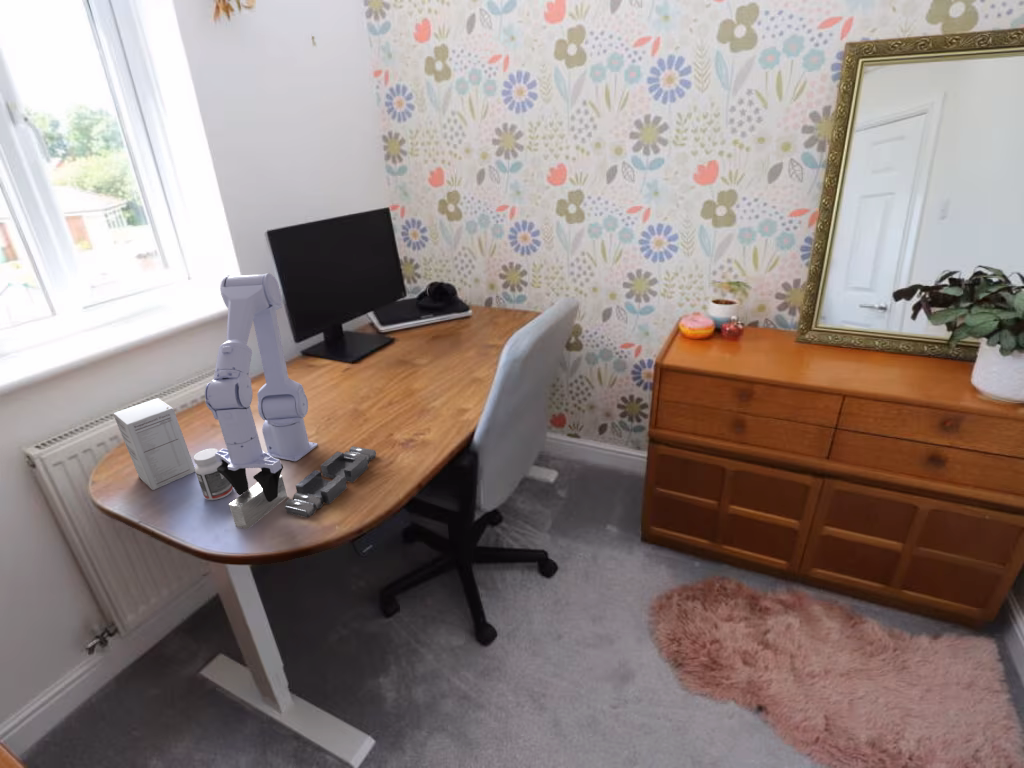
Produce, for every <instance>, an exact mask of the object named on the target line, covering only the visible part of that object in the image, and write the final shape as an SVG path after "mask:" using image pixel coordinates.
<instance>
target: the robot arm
mask: <svg viewBox="0 0 1024 768" xmlns="http://www.w3.org/2000/svg"><path fill="white" fill-rule="evenodd" d="M280 290H281V289H280V285H279V282H278V280H277V279H276V278H275V276H274V275H273V274H272V273H270V272H269V273H268V272H266V273H264V274H263V273H260V274H245V275H243V274H242V275H225V276H223V277H222V279H221V280H220V295H221V297H222V301H223V303H224V305H225V307H226V308H227V321H226V322H227V324H226V325H227V326H226V341H225V342H223V343H222V344H220V345H219V346H218V348H217V349H218V350H217V357H216V360H215V361H216V362H215V368H214V373H213V379H212V380H211V381H210V382H208V383H207V384H206V386H205V389H204V398H205V400H204V402H205V405H206V407H207V408H208V410H209V411H211V413H212V416H213V418H214V419H215V420H217V421H218V424H219V427H220V430H221V433H222V436H223V440H224V443H225V447H226V448H221V449H220V450H218V452H216V453H215V456H216V459H217V462H222V463H221V464H222V465H220V466H219V467H218V468H217V471H218V472H219V473H221V474H222V475H223V476H224V477H225V478H226V479H227V480H228V481H229V482H230V484H231V485H232V486H233V489H234V491H235V492H236V494H237V495H239V496H241V495H242V494H243V493H245V492H246V491H247V490H249V482H248V478H247V477H248V476H247V470H246V469H260V471H259V472H258V473H256V474H254V475H253V479H254V480H255V482H256V483H259V485H260V486H261V488H262V490H263V492H264V495H265V498H266V499H267V501H268V502H271V501H273V500H274V499H275V498H276V497H278V483H279V478H280V475H281V474H282V471H283V470H284V466H283V465H284V464H283V463H282V462H281V460H280V459H282V460H286V461H292V462H297V461H299V460H301V458H303V457H304V456H306V455H307V454H309V453H310V452H311V451H313V449H315V448H316V447H318V446H319V445H318V443H317V442H312V441H309V437H308V434H307V433H308V432H307V428H306V424H305V420H304V418H305V417H306V415H307V414H308V411H309V401H308V397H307V394H306V393H305V390H304V387H303V384H302V383H300V382H297V381H296V380H293V379H291V378H289V373H288V368H287V363H286V359H285V357H286V356H285V354H284V353H285V352H284V349H283V348H284V347H283V344H282V338H281V332H280V328H279V326H280V325H279V320H278V317H277V311H278V310H279V309H282V308H283V305H282V303H283V301H282V297H281V291H280ZM252 325H253V326H254V331H255V335H256V341H257V345H258V349H259V350H258V351H259V356H260V360H261V366H262V370H263V375H264V379H265V383H264V384H263V385H262V386H261V387H260V388H259V390H258V391H257V411H258V414H259V416H260V418H261V419H262V420H263V423H262V430H261V432H262V436H263V439H264V442H265V443H264V444H265V446H266V450H267V452H266V451H264V450H263V449H262V444H261V442H260V437H259V435H258V431H257V427H256V426H257V425H256V423H255V419H254V416H253V412H252V408H251V404H252V402H253V387H252V378H251V377H250V376H249V375H250V371H251V364H252V363H251V362H252V355H253V351H252V348H251V347H249V345H248V341H249V337H250V333H251V330H252Z"/></svg>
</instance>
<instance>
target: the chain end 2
mask: <svg viewBox="0 0 1024 768" xmlns="http://www.w3.org/2000/svg"><path fill="white" fill-rule="evenodd" d="M376 457H377V452H376V450H375V449H371V448H364V447H359V446H354V445H353V446H351V447H350V448H349V451H346V450H345V452H342V451H336V452H335V453H334V454H333V455H331V456H330V457H329V458H328V459H326V460H325V461H324V462H323V463H322V464H320V465H319V466H320V471H321V475H322V478H323V477H324V478H329V479H332V480H333V479H334V478H335V477H336V476H338V475H341V476H345V479H346V483H347V482H349V483H353V484H354V482H355V481H356V480H357V479H358V478H360V477H361V475H362V474H364V473H365V472H366V471H367V470H368V469H369V464H370V462H371V460H375V459H376Z"/></svg>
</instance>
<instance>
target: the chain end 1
mask: <svg viewBox="0 0 1024 768" xmlns="http://www.w3.org/2000/svg"><path fill="white" fill-rule="evenodd" d="M295 488H296V492H295V493H294V494H293V496H292V499H290V498H289V499H287V500H286V501H285V502H284V510H286V512H287V514H289V515H295V516H298V517H303V518H307V519H308V518H309V517H310V516H311V517H312V516H314V515H315V513H316V511H317V510H318V509H321V508H322V507H323V506H324V504H326V505H330V504H331V503H333V502H334V501H335V500H337V498H338V497H339V496H340V495H342V494H343V492H344V491H346V489H348V486H347V481H346V479H345V476H341V475H338V476H336V477H335V478H334V479H332V480H329V479H324V478H323V475H322V470H315V469H314V470H313V471H312V472H310V473H309V474H308V475H307V476H305V477H304V478H303V479H302V480H300V481H299V482H297V484H295Z"/></svg>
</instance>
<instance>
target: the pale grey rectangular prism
mask: <svg viewBox="0 0 1024 768" xmlns="http://www.w3.org/2000/svg"><path fill="white" fill-rule="evenodd" d="M287 498H288V494H287V490H286V485H285V483H284V479H283V475H281V474H280V478H279V483H278V497H276V498H275V499H274V500H273V501H271V502H268V501H267V499H266V498H265V495H264V492H263V490H262V488H261V486H260V485H259V483H258V482H256V483H255V484H254V485H253V486H251V487H250V488H248V490H247V491H246V492H244V493H243V494H242V495H239V496H238V497H237V498H235V499H234V500H233V501H231V502H230V503H228V507H229V509H230V513H231V515H232V518H233V522H234V526H235V527H237V528H241V529H244V530H249V529H250V528H252V526H254V525H255V524H256V523H258V522H259V520H260V521H261V519H263V517H265V516H266V515H267V514H268V513H270V512H271V511H272V510H273V509H275V508H276V507H277V506H278V505H279V504H281V503H282V502H283V501H284V500H286V499H287Z"/></svg>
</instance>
